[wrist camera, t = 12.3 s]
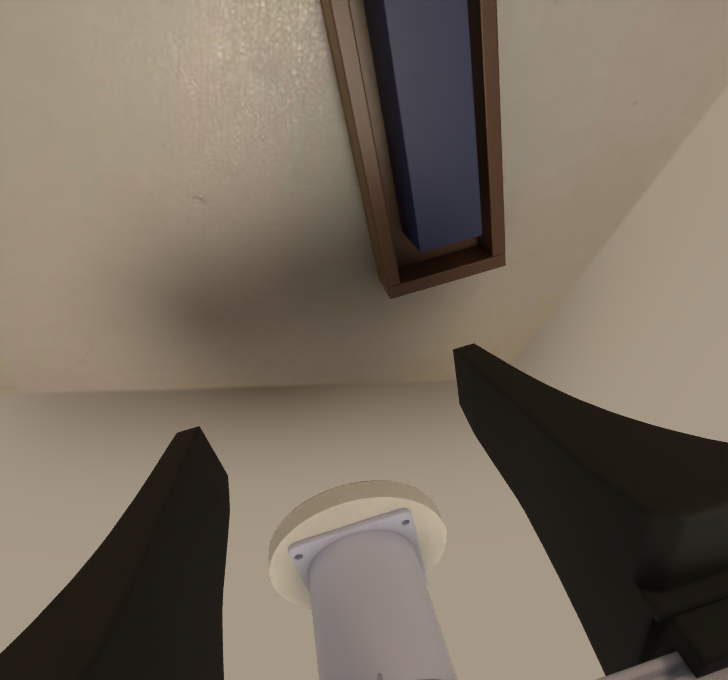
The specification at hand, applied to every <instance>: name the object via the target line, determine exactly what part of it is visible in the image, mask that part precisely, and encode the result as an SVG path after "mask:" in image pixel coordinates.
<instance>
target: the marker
mask: <svg viewBox="0 0 728 680" xmlns="http://www.w3.org/2000/svg"><path fill="white" fill-rule="evenodd" d="M363 1H364V7H365V13H366V19H367V24H368V30H369V36H370V42H371V48H372V54H373V60H374V66H375V72H376V78H377V84H378V90H379V96H380V102H381V108H382V114H383V120H384V126H385V132H386V137H387V143H388V149H389V155H390V161H391V167H392V173H393V179H394V185H395V191H396V197H397V203H398V209H399V215H400V221H401V227H402V232H403V233H404V235H405V236H406V237H407V238H408V239H409V240H410V241H411V242H412V243H413V245H414V246H415V247H416V248H417V249H418V250H419V251H420V252H425V251H428V250H432V249H435V248H439V247H442V246H446V245H449V244H453V243H456V242H460V241H463V240H467V239H470V238H474V237H477V236H480V235H482V220H481V205H480V189H479V174H478V158H477V143H476V127H475V112H474V96H473V80H472V65H471V49H470V34H469V18H468V3H467V0H363Z"/></svg>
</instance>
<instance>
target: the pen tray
mask: <svg viewBox="0 0 728 680" xmlns="http://www.w3.org/2000/svg"><path fill="white" fill-rule="evenodd" d="M320 2H321V7H322V12H323V17H324V21H325V26H326V31H327V36H328V40H329V45H330V50H331V55H332V59H333V64H334V69H335V73H336V78H337V83H338V88H339V92H340V97H341V102H342V107H343V111H344V116H345V121H346V125H347V130H348V135H349V140H350V144H351V149H352V154H353V159H354V163H355V168H356V173H357V178H358V182H359V187H360V192H361V196H362V201H363V206H364V211H365V215H366V220H367V225H368V230H369V234H370V239H371V244H372V249H373V253H374V258H375V263H376V267H377V272H378V277H379V281H380V283H381V284H382V286H383V288H384V289H385V291H386V293H387V295H388V296H389V298H390V299H392V298H395V297H399V296H402V295H406V294H409V293H413V292H416V291H419V290H423V289H426V288H430V287H433V286H437V285H440V284H443V283H447V282H450V281H454V280H457V279H461V278H464V277H467V276H471V275H474V274H478V273H481V272H485V271H488V270H492V269H495V268H498V267H502V266H505V265H506V263H505V230H504V201H503V173H502V144H501V116H500V87H499V59H498V30H497V2H496V0H467V3H468V18H469V34H470V49H471V65H472V80H473V96H474V112H475V127H476V143H477V158H478V174H479V189H480V205H481V220H482V235H480V236H477V237H474V238H470V239H467V240H463V241H460V242H456V243H453V244H449V245H446V246H442V247H439V248H435V249H432V250H428V251H425V252H420V251H419V250H418V249H417V248H416V247H415V246H414V245H413V243H412V242H411V241H410V240H409V239H408V238H407V237H406V236H405V235H404V233H403V232H402V227H401V221H400V215H399V209H398V203H397V197H396V191H395V185H394V179H393V173H392V167H391V161H390V155H389V149H388V143H387V137H386V132H385V126H384V120H383V114H382V108H381V102H380V96H379V90H378V84H377V78H376V72H375V66H374V60H373V54H372V48H371V42H370V36H369V30H368V24H367V19H366V13H365V7H364V1H363V0H320Z"/></svg>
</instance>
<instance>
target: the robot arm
mask: <svg viewBox="0 0 728 680" xmlns="http://www.w3.org/2000/svg"><path fill="white" fill-rule="evenodd" d="M453 353H454V362H455V370H456V378H457V386H458V395H459V403H460V406H461V408H462V410H463V412H464V414H465V416H466V418H467V420H468V422H469V424H470V426H471V428H472V430H473V432H474V434H475V435H476V437H477V439H478V440H479V442H480V443H481V445H482V446H483V448H484V449H485V451H486V452H487V454H488V456H489V457H490V459H491V460H492V462H493V463H494V465H495V466H496V468H497V469H498V470H499V472H500V474H501V475H502V477H503V478H504V480H505V481H506V483H507V484H508V486H509V487H510V489H511V490H512V492H513V493H514V495H515V496H516V498H517V499H518V501H519V503H520V504H521V506H522V508H523V509H524V511H525V513H526V515H527V517H528V518H529V520H530V522H531V524H532V526H533V528H534V530H535V532H536V533H537V535H538V537H539V539H540V541H541V543H542V545H543V547H544V549H545V551H546V553H547V555H548V556H549V559H550V560H551V563H552V564H553V566H554V568H555V570H556V572H557V574H558V576H559V578H560V580H561V582H562V584H563V586H564V588H565V591H566V593H567V595H568V597H569V598H570V601H571V603H572V605H573V607H574V609H575V611H576V613H577V615H578V617H579V619H580V621H581V623H582V625H583V628H584V630H585V632H586V634H587V636H588V638H589V641H590V643H591V645H592V647H593V649H594V651H595V654H596V656H597V658H598V660H599V662H600V664H601V666H602V669H603V671H604V673H605V675H606V676H605V677H603V678H600V679H597V680H728V443H727V442H722V441H716V440H711V439H706V438H702V437H698V436H694V435H689V434H685V433H681V432H677V431H673V430H669V429H665V428H661V427H658V426H654V425H651V424H647V423H644V422H641V421H638V420H634V419H631V418H628V417H624V416H622V415H619V414H616V413H613V412H610V411H607V410H605V409H602V408H600V407H597V406H594V405H592V404H589V403H587V402H584V401H581V400H579V399H577V398H574V397H572V396H570V395H568V394H565V393H563V392H561V391H559V390H557V389H555V388H553V387H550V386H548V385H546V384H544V383H542V382H541V381H539V380H537V379H534V378H533V377H531V376H529V375H527V374H525V373H524V372H522V371H520V370H518V369H516V368H515V367H513V366H511V365H509V364H508V363H506V362H504V361H503V360H501V359H499V358H498V357H496V356H494V355H493V354H491V353H489V352H487V351H486V350H484V349H482V348H481V347H479V346H477V345H476V344H470V345H467V346H464V347H460V348H457V349H454V350H453ZM229 515H230V502H229V484H228V475H227V473H226V471H225V470H224V468H223V466H222V465H221V463H220V461H219V459H218V457H217V456H216V454H215V452H214V451H213V449H212V447H211V446H210V444H209V442H208V440H207V438H206V437H205V435H204V433H203V431H202V430H201V428H200V427H199V426H198V427H195V428H191V429H188V430H185V431H182V432H178V433H177V434H176V435H175V437H174V438H173V440H172V441H171V443H170V444H169V446H168V448H167V449H166V451H165V452H164V454H163V455H162V457H161V458H160V460H159V462H158V463H157V465H156V466H155V468H154V470H153V471H152V473H151V474H150V476H149V477H148V479H147V480H146V482H145V483H144V485H143V486H142V488H141V489H140V491H139V492H138V494H137V495H136V497H135V498H134V500H133V501H132V503H131V504H130V505H129V507H128V508H127V510H126V511H125V513H124V514H123V515H122V517H121V518H120V519H119V521H118V522H117V524H116V525H115V526H114V528H113V529H112V531H111V532H110V534H109V535H108V536H107V537H106V539H105V540H104V541H103V543H102V544H101V545H100V546H99V548H98V549H97V550H96V551H95V553H94V554H93V555H92V556H91V558H90V559H89V560H88V561H87V562H86V564H85V565H84V566H83V567H82V568H81V569H80V571H79V572H78V573H77V574H76V575H75V577H74V578H73V579H72V580H71V581H70V582H69V583H68V585H67V586H66V587H65V588H64V589H63V590H62V591H61V592H60V593H59V594H58V595H57V596H56V597H55V598H54V600H53V601H52V602H51V603H50V604H49V605H48V606H47V607H46V608H45V609H44V610H43V611H42V613H40V615H39V616H38V617H37V618H36V619H35V620H34V621H33V622H32V623H31V624H30V625H29V626H28V627H27V628H26V629H25V630H24V631H23V632H22V633H21V634H20V635H19V636H18V637H17V638H16V639H15V640H14V641H13V642H12V643H11V644H10V645H9V646H8V647H7V648H6V649H5V650H4V651H3V652H1V653H0V680H224V669H223V634H222V633H223V629H222V605H223V587H224V576H225V564H226V553H227V541H228V529H229ZM288 554H289V556H290V558H291V560H292V562H293V564H294V565H295V567H296V569H297V571H298V573H299V575H300V576H301V578H302V580H303V582H304V584H305V586H306V588H307V589H308V591H309V593H310V597H311V607H312V616H313V625H314V635H315V645H316V654H317V664H318V674H319V680H457V677H456V674H455V671H454V668H453V665H452V662H451V659H450V656H449V653H448V650H447V647H446V644H445V641H444V638H443V635H442V632H441V629H440V626H439V623H438V620H437V617H436V614H435V611H434V607H433V604H432V601H431V598H430V595H429V592H428V589H427V587H428V586H429V583H428V579H427V575H426V571H425V567H424V563H423V558H422V554H421V550H420V546H419V542H418V538H417V534H416V530H415V526H414V522H413V518H412V514H411V511H410V509H408V508H400V509H397V510H394V511H391V512H388V513H385V514H382V515H379V516H376V517H373V518H369V519H366V520H363V521H360V522H357V523H354V524H351V525H348V526H345V527H341V528H338V529H335V530H332V531H329V532H326V533H323V534H320V535H317V536H313V537H310V538H307V539H304V540H301V541H298V542H295V543H292V544H291V545H290V546H289V547H288Z"/></svg>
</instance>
